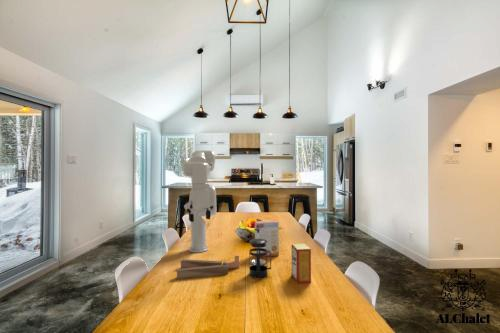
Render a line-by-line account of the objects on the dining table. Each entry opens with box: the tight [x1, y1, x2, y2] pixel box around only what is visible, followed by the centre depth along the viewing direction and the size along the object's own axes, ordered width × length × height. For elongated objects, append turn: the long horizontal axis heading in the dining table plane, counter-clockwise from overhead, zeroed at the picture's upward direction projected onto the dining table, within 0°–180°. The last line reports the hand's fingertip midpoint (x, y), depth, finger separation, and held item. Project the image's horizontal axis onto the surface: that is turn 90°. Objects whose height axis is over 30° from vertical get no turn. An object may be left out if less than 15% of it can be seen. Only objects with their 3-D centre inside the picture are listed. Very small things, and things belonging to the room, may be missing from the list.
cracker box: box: [254, 219, 280, 258], centre depth 161 cm, size 14×6×21 cm, turn 100°
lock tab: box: [226, 254, 240, 269], centre depth 140 cm, size 2×7×6 cm, turn 105°
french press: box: [248, 228, 272, 279], centre depth 131 cm, size 12×9×23 cm
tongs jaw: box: [180, 258, 223, 269], centre depth 139 cm, size 2×22×4 cm, turn 81°
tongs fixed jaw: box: [176, 261, 229, 280], centre depth 131 cm, size 4×25×5 cm, turn 105°
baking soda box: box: [291, 242, 312, 284], centre depth 126 cm, size 10×6×16 cm
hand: (200, 220), depth 133 cm, fingers open, 9 cm apart
